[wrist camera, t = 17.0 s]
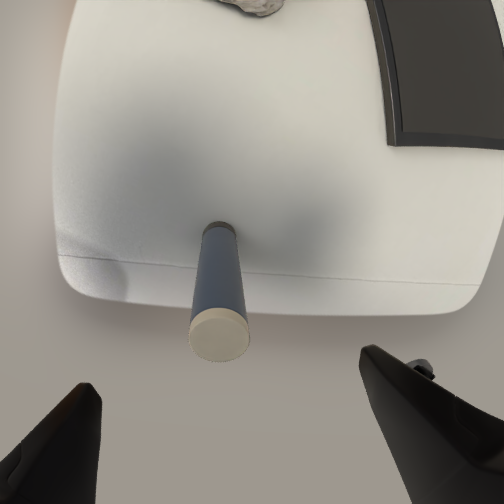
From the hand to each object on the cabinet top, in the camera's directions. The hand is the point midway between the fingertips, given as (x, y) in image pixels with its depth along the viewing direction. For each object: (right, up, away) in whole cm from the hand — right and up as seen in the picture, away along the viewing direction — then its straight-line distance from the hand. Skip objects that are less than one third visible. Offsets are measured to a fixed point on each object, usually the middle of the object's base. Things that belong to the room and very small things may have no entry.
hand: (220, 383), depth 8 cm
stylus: (-1, +5, +11) cm, 12 cm away
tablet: (+15, +27, +3) cm, 31 cm away
